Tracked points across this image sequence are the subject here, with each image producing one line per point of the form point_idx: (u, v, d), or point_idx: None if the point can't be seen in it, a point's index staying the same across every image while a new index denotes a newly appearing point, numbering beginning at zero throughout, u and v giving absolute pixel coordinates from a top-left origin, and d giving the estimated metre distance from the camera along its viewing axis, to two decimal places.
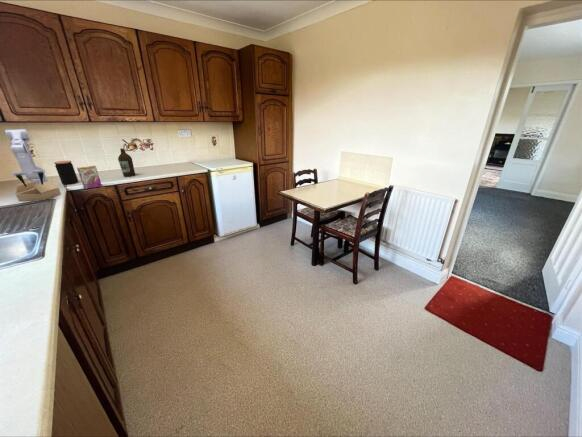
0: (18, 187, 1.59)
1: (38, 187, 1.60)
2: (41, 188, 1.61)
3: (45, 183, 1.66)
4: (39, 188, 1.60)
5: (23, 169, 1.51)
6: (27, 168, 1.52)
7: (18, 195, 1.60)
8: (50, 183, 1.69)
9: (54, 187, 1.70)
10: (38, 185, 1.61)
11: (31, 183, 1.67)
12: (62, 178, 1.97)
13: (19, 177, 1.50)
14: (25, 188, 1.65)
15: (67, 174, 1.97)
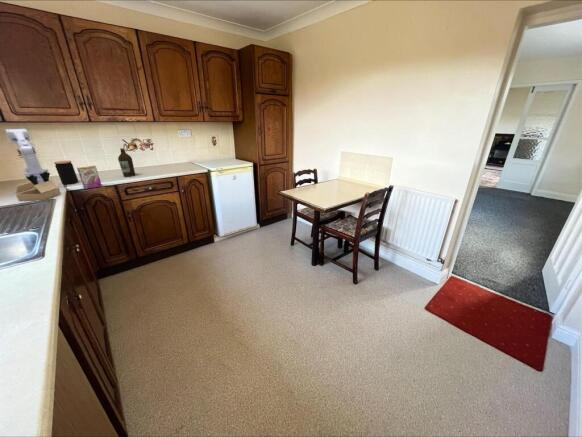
0: (18, 187, 1.59)
1: (38, 187, 1.60)
2: (41, 188, 1.61)
3: (45, 183, 1.65)
4: (39, 188, 1.60)
5: (35, 169, 1.59)
6: (39, 168, 1.60)
7: (18, 195, 1.60)
8: (50, 183, 1.69)
9: (54, 187, 1.70)
10: (38, 185, 1.61)
11: (31, 183, 1.67)
12: (62, 178, 1.97)
13: (35, 177, 1.58)
14: (25, 188, 1.65)
15: (67, 174, 1.97)
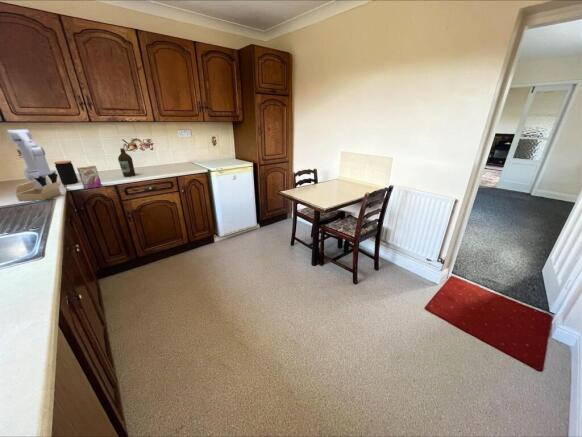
0: (18, 187, 1.59)
1: (45, 188, 1.60)
2: (46, 189, 1.62)
3: (54, 184, 1.66)
4: (45, 189, 1.61)
5: (44, 170, 1.59)
6: (48, 169, 1.61)
7: (18, 195, 1.60)
8: (57, 184, 1.69)
9: (56, 188, 1.70)
10: (47, 186, 1.61)
11: (31, 183, 1.67)
12: (62, 178, 1.97)
13: (44, 178, 1.58)
14: (25, 188, 1.65)
15: (67, 174, 1.97)
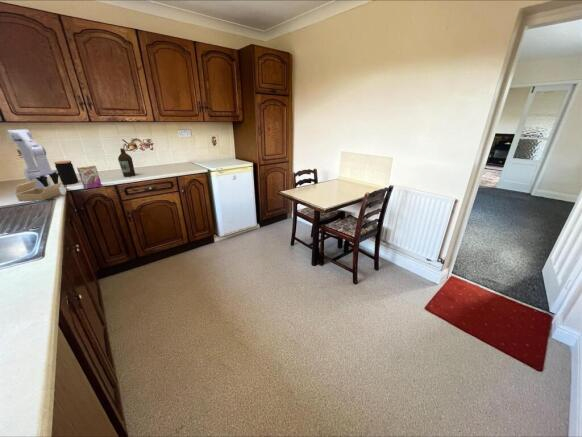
0: (18, 187, 1.59)
1: (46, 189, 1.61)
2: (47, 189, 1.62)
3: (55, 185, 1.66)
4: (45, 189, 1.61)
5: (45, 170, 1.59)
6: (49, 169, 1.61)
7: (18, 195, 1.60)
8: (58, 185, 1.69)
9: (56, 188, 1.70)
10: (49, 187, 1.62)
11: (31, 183, 1.67)
12: (62, 178, 1.97)
13: (45, 178, 1.58)
14: (25, 188, 1.65)
15: (67, 174, 1.97)
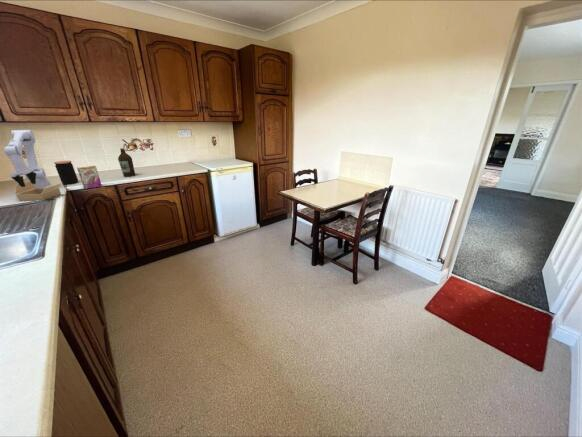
0: (17, 187, 1.59)
1: (46, 189, 1.61)
2: (47, 189, 1.62)
3: (55, 185, 1.66)
4: (45, 189, 1.61)
5: (21, 169, 1.58)
6: (25, 168, 1.60)
7: (18, 195, 1.60)
8: (58, 185, 1.69)
9: (56, 188, 1.70)
10: (49, 187, 1.62)
11: (30, 183, 1.67)
12: (62, 178, 1.97)
13: (21, 177, 1.57)
14: (25, 188, 1.65)
15: (67, 174, 1.97)
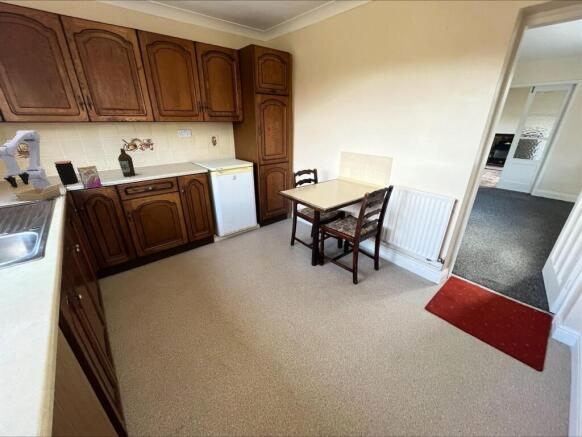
0: (11, 187, 1.59)
1: (46, 189, 1.61)
2: (47, 189, 1.62)
3: (55, 185, 1.66)
4: (45, 189, 1.61)
5: (14, 170, 1.58)
6: (18, 169, 1.60)
7: (18, 195, 1.60)
8: (58, 185, 1.69)
9: (56, 188, 1.70)
10: (49, 187, 1.62)
11: None
12: (62, 178, 1.97)
13: (13, 178, 1.57)
14: (22, 188, 1.65)
15: (67, 174, 1.97)
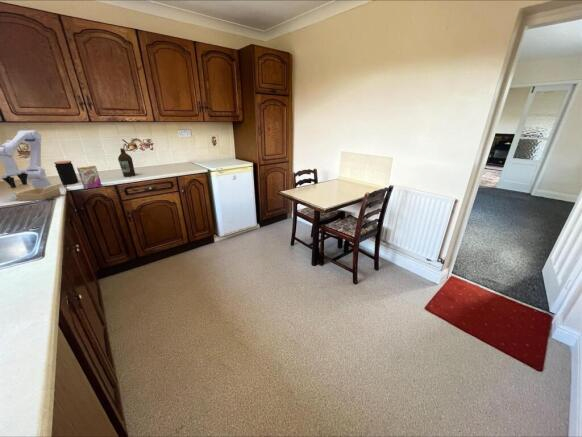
0: (10, 188, 1.59)
1: (46, 189, 1.61)
2: (47, 189, 1.62)
3: (55, 185, 1.66)
4: (45, 189, 1.61)
5: (12, 170, 1.58)
6: (16, 169, 1.60)
7: (18, 195, 1.60)
8: (58, 185, 1.69)
9: (56, 188, 1.70)
10: (49, 187, 1.62)
11: None
12: (62, 178, 1.97)
13: (12, 178, 1.57)
14: (21, 189, 1.65)
15: (67, 174, 1.97)
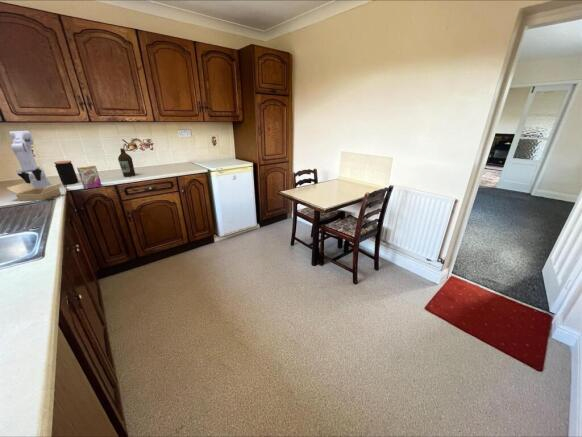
0: (10, 188, 1.59)
1: (46, 189, 1.61)
2: (47, 189, 1.62)
3: (55, 185, 1.66)
4: (45, 189, 1.61)
5: (27, 166, 1.60)
6: (31, 165, 1.62)
7: (18, 195, 1.60)
8: (58, 185, 1.69)
9: (56, 188, 1.70)
10: (49, 187, 1.62)
11: (23, 184, 1.67)
12: (62, 178, 1.97)
13: (27, 174, 1.60)
14: (21, 189, 1.65)
15: (67, 174, 1.97)
